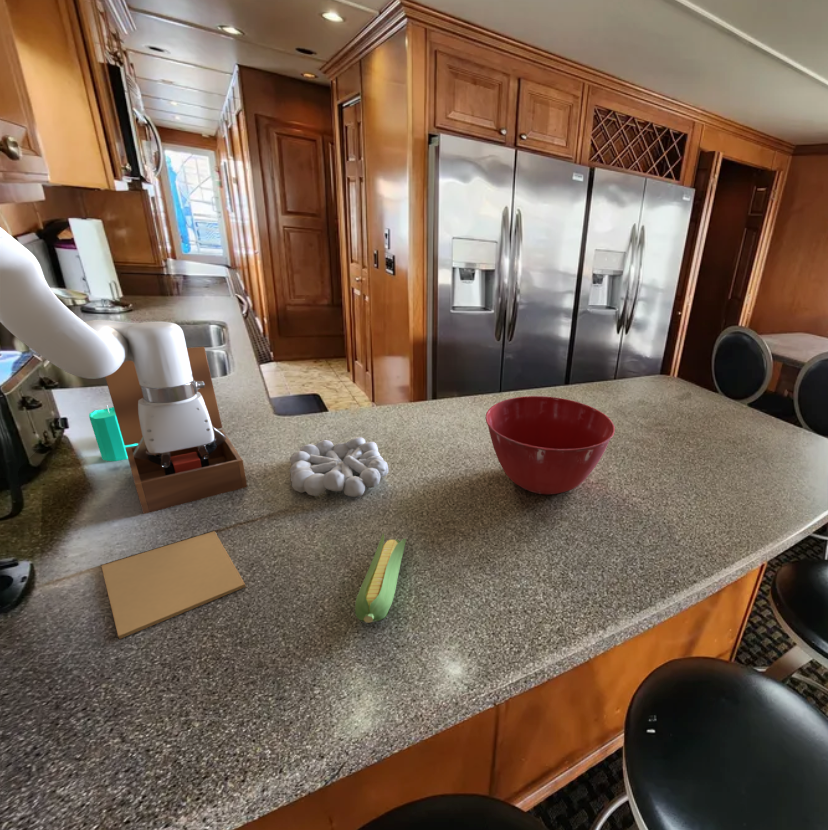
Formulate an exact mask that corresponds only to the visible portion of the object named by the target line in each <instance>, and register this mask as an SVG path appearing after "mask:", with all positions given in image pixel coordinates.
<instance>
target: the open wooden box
mask: <svg viewBox="0 0 828 830" xmlns="http://www.w3.org/2000/svg"><path fill="white" fill-rule="evenodd" d="M218 430H219V431H220V432H221V433H222V434H224V435H225V437H226V440H225V441H224V442H223V443H221V444H220V445H218V446H217V447H216V449H215V450H214V451H213V452H212V453H211V454H210V457H209V458H208V461H209V466H206V467H202V468H197V469H193V470H188V471H184V472H179V473H175V474H170V475H165V471H164V468H163V467H162V466H161V465H158V464H156V463H153V462H151V461H149V460H143V459H139V458H135V457H134V454H133V452H134V450H135V449H136V447H137V446H138V445H136V446H131V447H125V448H126V452H127V456H128V459H127V460H128V463H129V467H130V472H131V475H132V479H133V482H134V486H135V489H136V493H137V497H138V500H139V503H140V507H141V510H142V514H143V515H146V514H149V513H153V512H157V511H161V510H165V509H169V508H172V507H177V506H180V505H184V504H188V503H192V502H196V501H199V500H203V499H207V498H211V497H215V496H218V495H222V494H226V493H230V492H234V491H238V490H241V489H245V488H248V481H247V476H246V469H245V465H244V460H243V458H242V457H241V455H240V454H239V452H238V451H237V450H236V447H235V446H234V445H233V443H232V442H231V440H230V439H229V437H228V436H227V435H226V433H225V431H224V430H223V429H218ZM214 438H215V437H214ZM146 451H147V452H149V451H148V449H147V450H146ZM192 452H196V453H197V455H198V453H199V450H198V449H197V447H192V448H187V449H182V450H177V451H172V452H170V457H173V456H178V455H182V454H187V453H192ZM158 455H159V454H158ZM170 460H171V458H170Z"/></svg>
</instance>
